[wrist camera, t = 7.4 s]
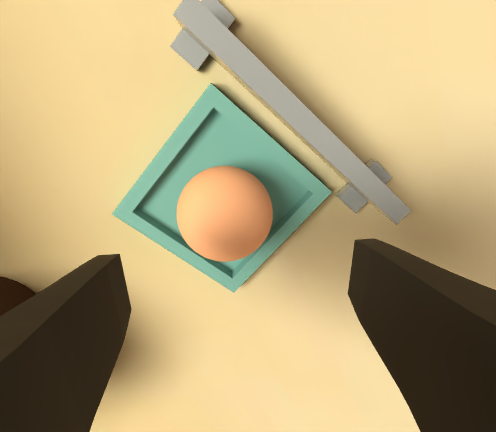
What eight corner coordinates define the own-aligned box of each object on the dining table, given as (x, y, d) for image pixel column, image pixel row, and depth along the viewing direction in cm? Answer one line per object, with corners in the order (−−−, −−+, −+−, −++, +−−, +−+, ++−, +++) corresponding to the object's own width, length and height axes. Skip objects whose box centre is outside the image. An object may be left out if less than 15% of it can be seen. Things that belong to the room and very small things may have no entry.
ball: (279, 183, 19) (303, 216, 14) (235, 247, 20) (245, 295, 16) (207, 139, 17) (208, 160, 13) (164, 211, 19) (152, 254, 14)
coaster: (326, 186, 19) (332, 192, 18) (233, 282, 22) (234, 292, 21) (211, 83, 16) (210, 83, 15) (117, 206, 19) (111, 214, 18)
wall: (387, 174, 19) (426, 196, 16) (352, 209, 20) (382, 237, 16) (208, -6, 15) (205, -35, 11) (171, 47, 16) (157, 37, 12)
